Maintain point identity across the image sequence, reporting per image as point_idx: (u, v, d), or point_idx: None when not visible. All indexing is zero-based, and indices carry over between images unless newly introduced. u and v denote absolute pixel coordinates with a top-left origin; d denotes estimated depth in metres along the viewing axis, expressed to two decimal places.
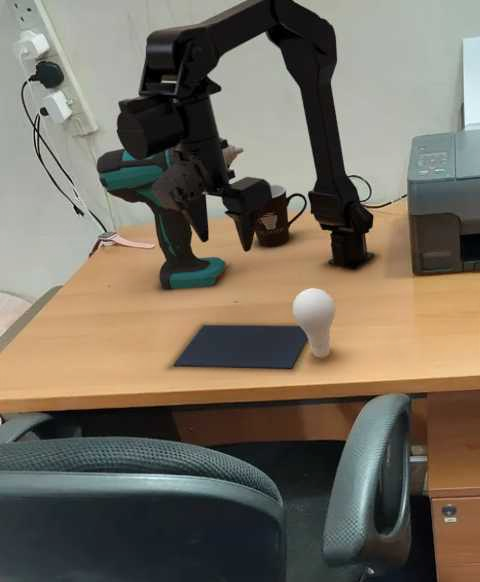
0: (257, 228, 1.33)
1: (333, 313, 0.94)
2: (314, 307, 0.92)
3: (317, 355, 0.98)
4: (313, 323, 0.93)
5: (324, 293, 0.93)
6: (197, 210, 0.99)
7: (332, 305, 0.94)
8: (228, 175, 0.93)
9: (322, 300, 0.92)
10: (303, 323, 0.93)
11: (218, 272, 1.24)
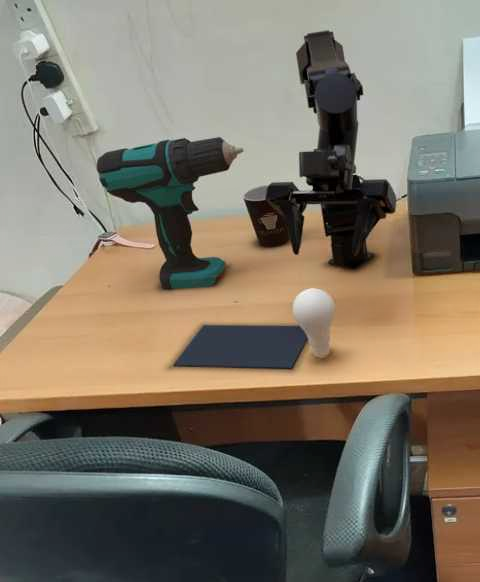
0: (257, 228, 1.33)
1: (333, 313, 0.94)
2: (314, 307, 0.92)
3: (317, 355, 0.98)
4: (313, 323, 0.93)
5: (324, 293, 0.93)
6: (298, 224, 0.99)
7: (332, 305, 0.94)
8: None
9: (322, 300, 0.92)
10: (303, 323, 0.93)
11: (218, 272, 1.24)
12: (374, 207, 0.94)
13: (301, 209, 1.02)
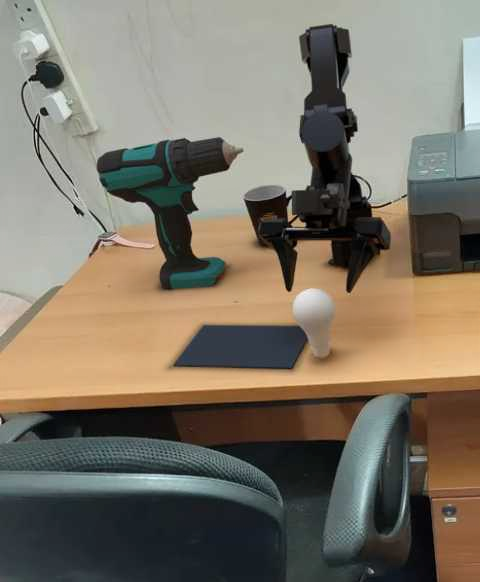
0: (257, 228, 1.33)
1: (333, 313, 0.94)
2: (314, 307, 0.92)
3: (317, 355, 0.98)
4: (313, 323, 0.93)
5: (324, 293, 0.93)
6: (291, 260, 0.98)
7: (332, 305, 0.94)
8: None
9: (322, 300, 0.92)
10: (303, 323, 0.93)
11: (218, 272, 1.24)
12: (368, 245, 0.93)
13: (294, 245, 1.00)
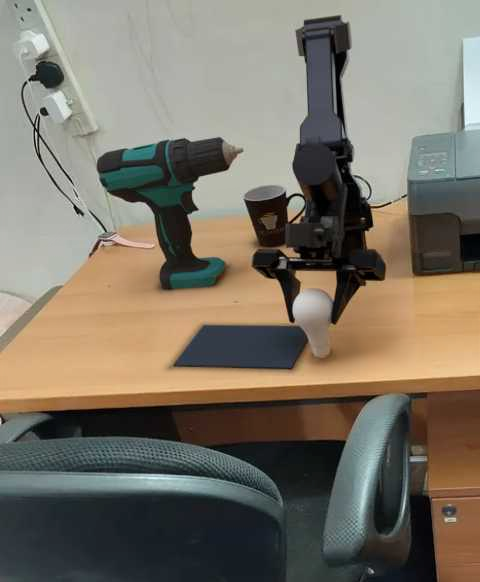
0: (257, 228, 1.33)
1: None
2: (314, 307, 0.92)
3: (317, 355, 0.98)
4: (313, 323, 0.93)
5: (324, 293, 0.93)
6: (294, 291, 0.96)
7: (332, 305, 0.93)
8: None
9: (322, 300, 0.92)
10: (303, 323, 0.93)
11: (218, 272, 1.24)
12: (353, 277, 0.92)
13: None
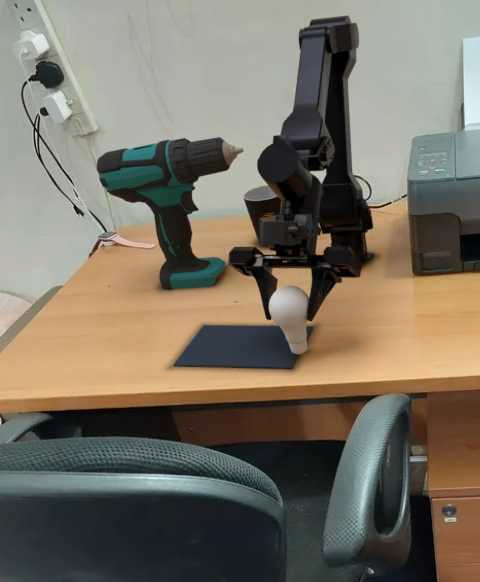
0: (257, 228, 1.33)
1: None
2: (289, 304, 0.93)
3: (294, 351, 0.99)
4: (289, 320, 0.94)
5: (300, 290, 0.94)
6: (271, 288, 0.97)
7: (308, 302, 0.94)
8: None
9: (298, 297, 0.93)
10: (279, 320, 0.94)
11: (218, 272, 1.24)
12: (328, 274, 0.93)
13: None
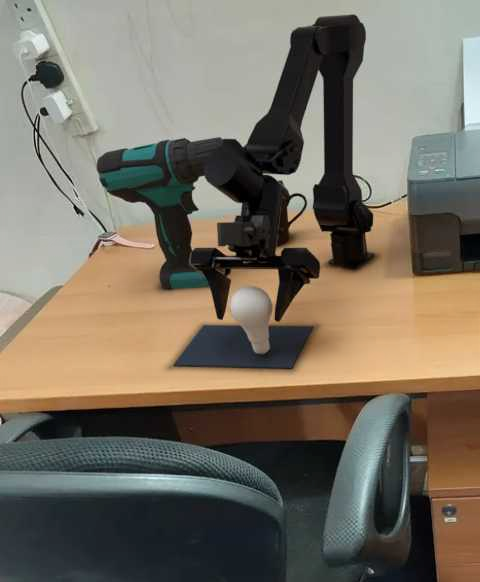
0: None
1: (270, 310, 0.96)
2: (249, 304, 0.94)
3: (256, 351, 1.01)
4: (249, 320, 0.95)
5: (260, 291, 0.95)
6: (223, 288, 0.99)
7: (268, 302, 0.96)
8: None
9: (258, 297, 0.95)
10: (240, 320, 0.95)
11: None
12: (295, 275, 0.94)
13: (228, 272, 1.01)
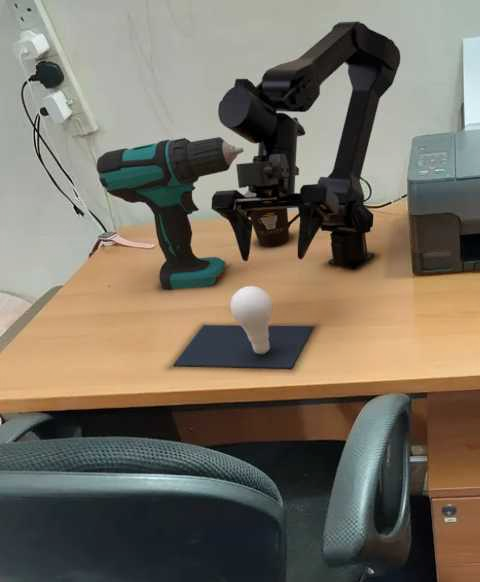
0: (257, 228, 1.33)
1: (270, 310, 0.96)
2: (249, 304, 0.94)
3: (256, 351, 1.01)
4: (249, 320, 0.95)
5: (260, 291, 0.95)
6: (245, 230, 1.02)
7: (268, 302, 0.96)
8: None
9: (258, 297, 0.95)
10: (240, 320, 0.95)
11: (218, 272, 1.24)
12: (315, 211, 0.96)
13: (249, 214, 1.04)
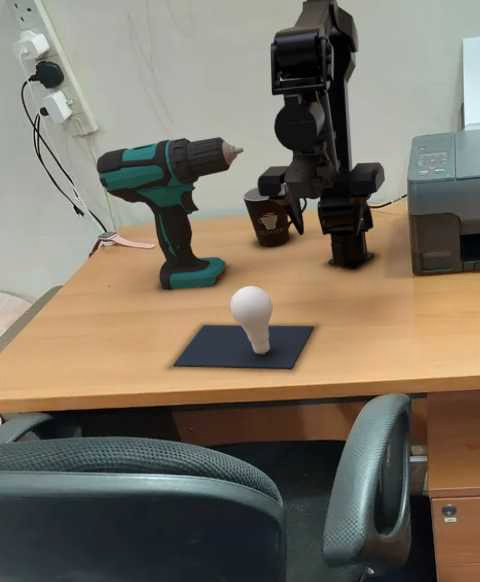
0: (257, 228, 1.33)
1: (270, 310, 0.96)
2: (249, 304, 0.94)
3: (256, 351, 1.01)
4: (249, 320, 0.95)
5: (260, 291, 0.95)
6: (295, 204, 1.04)
7: (268, 302, 0.96)
8: (337, 164, 1.00)
9: (258, 297, 0.95)
10: (240, 320, 0.95)
11: (218, 272, 1.24)
12: None
13: None
